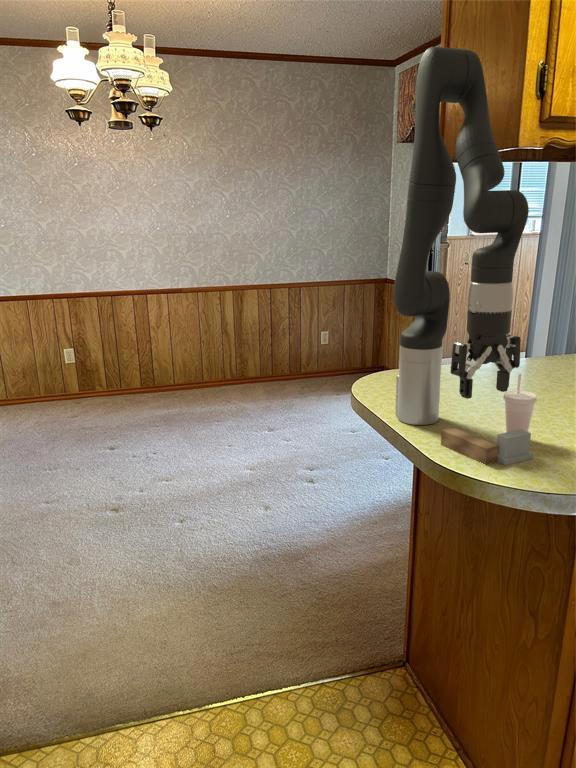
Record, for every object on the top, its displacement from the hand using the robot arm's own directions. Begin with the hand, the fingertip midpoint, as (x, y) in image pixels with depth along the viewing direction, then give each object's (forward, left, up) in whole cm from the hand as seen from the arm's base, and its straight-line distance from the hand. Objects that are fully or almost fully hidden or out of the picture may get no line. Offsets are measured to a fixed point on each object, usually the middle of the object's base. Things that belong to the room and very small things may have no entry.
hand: (484, 394), depth 112 cm
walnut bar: (-3, 0, -13) cm, 13 cm away
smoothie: (-4, +13, -13) cm, 19 cm away
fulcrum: (+3, +5, -13) cm, 14 cm away
